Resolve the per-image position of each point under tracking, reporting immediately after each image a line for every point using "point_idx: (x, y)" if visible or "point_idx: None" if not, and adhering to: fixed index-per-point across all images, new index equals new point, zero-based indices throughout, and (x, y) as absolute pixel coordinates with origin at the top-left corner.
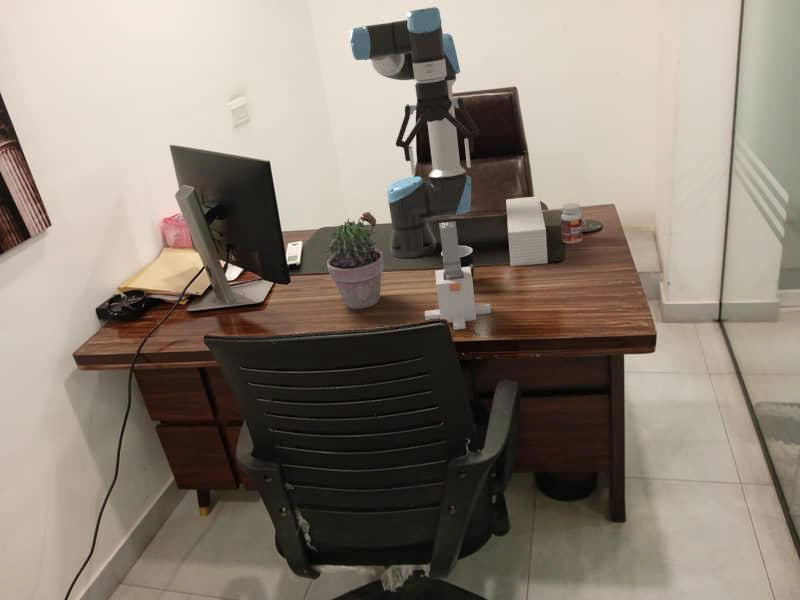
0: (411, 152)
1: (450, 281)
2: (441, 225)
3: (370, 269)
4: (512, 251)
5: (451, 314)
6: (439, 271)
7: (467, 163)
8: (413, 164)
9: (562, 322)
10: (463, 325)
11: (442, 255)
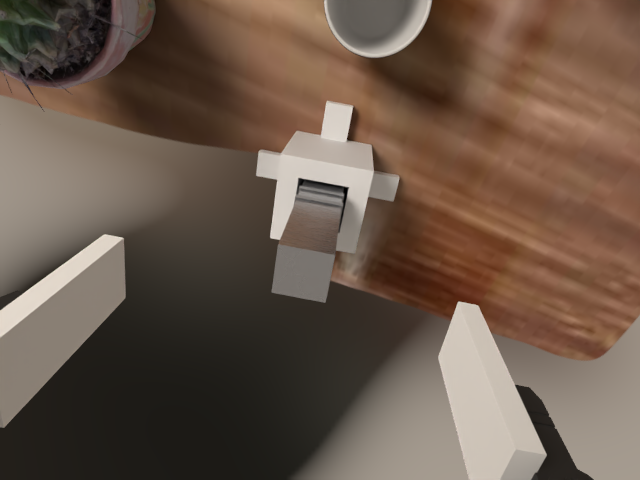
0: (24, 396)
1: None
2: (281, 268)
3: (95, 77)
4: None
5: None
6: (290, 165)
7: (443, 376)
8: (87, 336)
9: (496, 286)
10: None
11: (325, 13)
